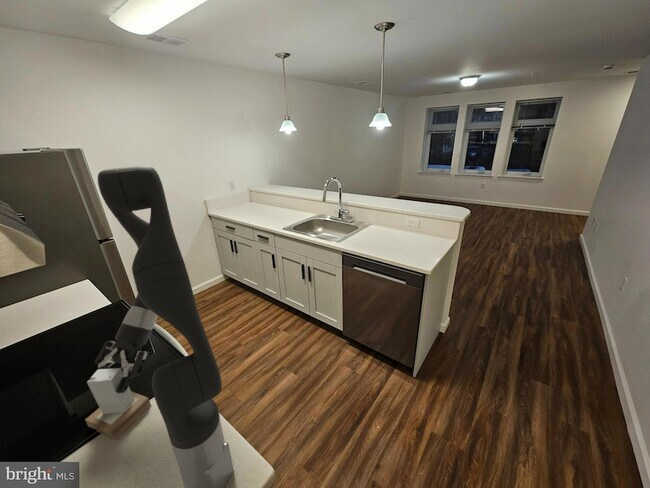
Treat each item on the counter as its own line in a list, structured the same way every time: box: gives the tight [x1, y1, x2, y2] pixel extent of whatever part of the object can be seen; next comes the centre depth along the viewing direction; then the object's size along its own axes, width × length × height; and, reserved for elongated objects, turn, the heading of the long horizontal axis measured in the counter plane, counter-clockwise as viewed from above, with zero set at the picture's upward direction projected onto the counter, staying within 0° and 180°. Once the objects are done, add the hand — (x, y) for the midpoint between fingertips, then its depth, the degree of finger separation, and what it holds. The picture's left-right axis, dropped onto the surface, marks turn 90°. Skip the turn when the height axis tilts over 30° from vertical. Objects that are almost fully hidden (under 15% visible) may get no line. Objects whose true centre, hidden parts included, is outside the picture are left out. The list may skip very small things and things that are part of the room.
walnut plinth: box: [84, 390, 152, 441], centre depth 73 cm, size 10×10×3 cm
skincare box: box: [86, 367, 134, 414], centre depth 70 cm, size 6×4×12 cm
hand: (108, 388), depth 69 cm, fingers open, 8 cm apart
